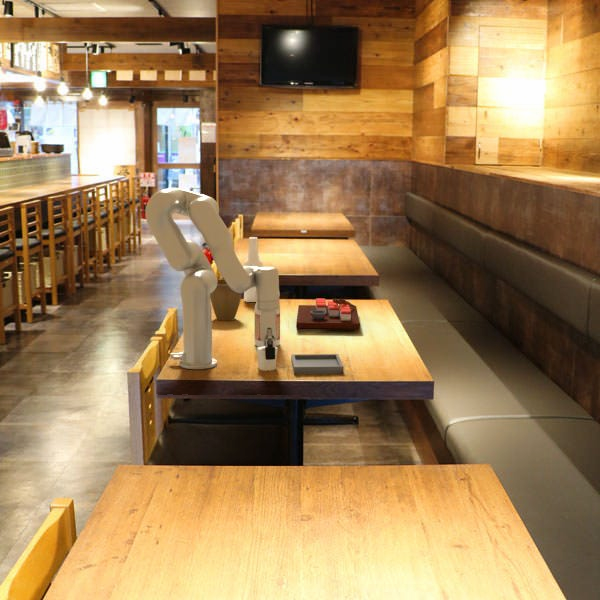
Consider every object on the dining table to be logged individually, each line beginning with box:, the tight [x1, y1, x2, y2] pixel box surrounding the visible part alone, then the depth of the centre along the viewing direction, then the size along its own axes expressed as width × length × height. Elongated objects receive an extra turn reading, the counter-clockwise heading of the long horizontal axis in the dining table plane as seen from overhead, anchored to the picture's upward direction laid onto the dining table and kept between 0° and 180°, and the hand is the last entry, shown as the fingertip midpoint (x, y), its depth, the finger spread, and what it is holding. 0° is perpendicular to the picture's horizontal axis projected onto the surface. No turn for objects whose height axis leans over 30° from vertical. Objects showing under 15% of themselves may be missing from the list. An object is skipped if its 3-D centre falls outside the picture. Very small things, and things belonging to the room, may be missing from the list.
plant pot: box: [210, 278, 243, 322], centre depth 349 cm, size 15×15×16 cm
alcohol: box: [243, 236, 264, 303], centre depth 386 cm, size 9×9×30 cm
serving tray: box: [290, 353, 345, 376], centre depth 277 cm, size 16×16×2 cm
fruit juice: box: [253, 290, 281, 347], centre depth 305 cm, size 9×9×28 cm
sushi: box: [295, 298, 361, 331], centre depth 342 cm, size 25×35×12 cm
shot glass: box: [256, 346, 278, 372], centre depth 275 cm, size 7×7×7 cm
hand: (270, 355), depth 275 cm, fingers open, 9 cm apart
